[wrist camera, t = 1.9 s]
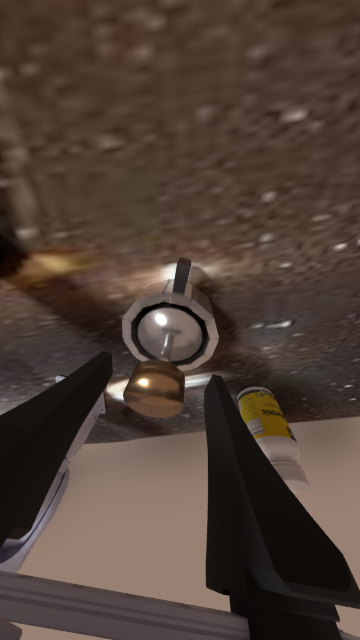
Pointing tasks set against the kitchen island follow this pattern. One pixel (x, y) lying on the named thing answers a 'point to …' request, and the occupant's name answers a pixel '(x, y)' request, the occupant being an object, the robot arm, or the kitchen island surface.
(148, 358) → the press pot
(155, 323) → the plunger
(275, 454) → the supplement bottle
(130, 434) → the kitchen island surface
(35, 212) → the kitchen island surface
